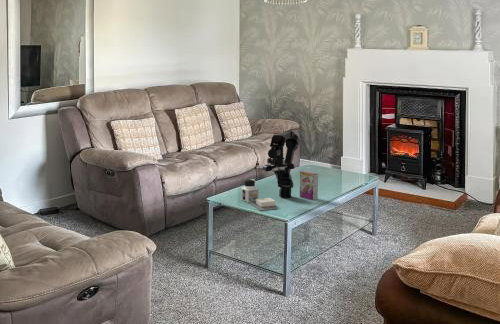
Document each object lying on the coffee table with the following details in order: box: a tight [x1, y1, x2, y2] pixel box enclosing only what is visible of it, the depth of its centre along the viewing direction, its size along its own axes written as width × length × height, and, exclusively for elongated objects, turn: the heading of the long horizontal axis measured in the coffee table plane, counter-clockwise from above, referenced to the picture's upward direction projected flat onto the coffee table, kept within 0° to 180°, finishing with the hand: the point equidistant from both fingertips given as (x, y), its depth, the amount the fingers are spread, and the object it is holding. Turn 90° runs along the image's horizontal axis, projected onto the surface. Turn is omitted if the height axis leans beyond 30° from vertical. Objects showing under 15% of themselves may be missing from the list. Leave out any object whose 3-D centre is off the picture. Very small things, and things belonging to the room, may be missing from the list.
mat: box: [248, 201, 278, 212], centre depth 348 cm, size 10×18×1 cm, turn 21°
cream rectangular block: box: [255, 197, 276, 207], centre depth 349 cm, size 3×8×9 cm
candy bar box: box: [299, 170, 319, 201], centre depth 365 cm, size 11×5×16 cm, turn 43°
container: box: [240, 178, 259, 203], centre depth 360 cm, size 8×8×13 cm
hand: (278, 180), depth 356 cm, fingers closed
